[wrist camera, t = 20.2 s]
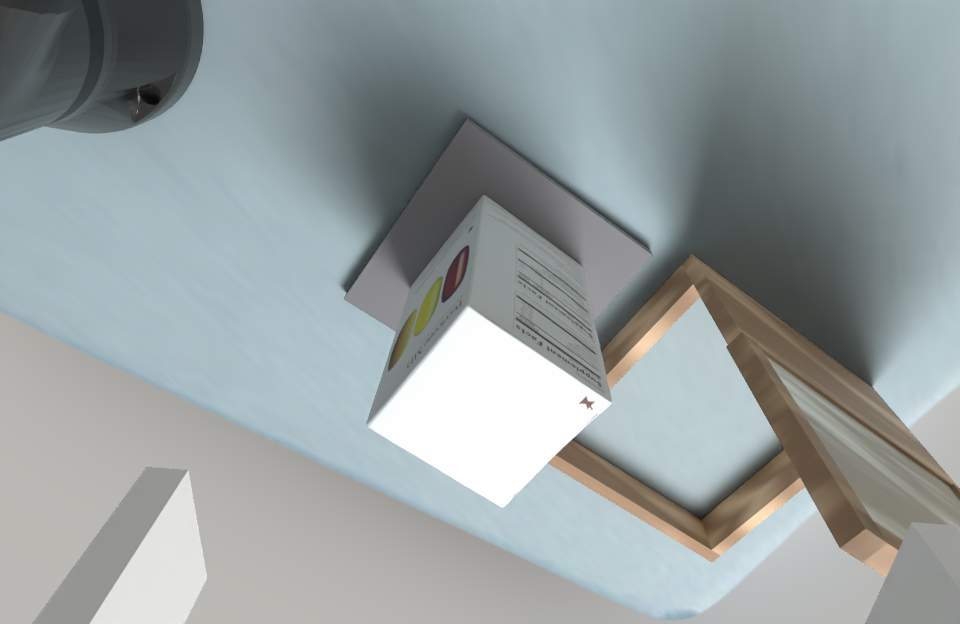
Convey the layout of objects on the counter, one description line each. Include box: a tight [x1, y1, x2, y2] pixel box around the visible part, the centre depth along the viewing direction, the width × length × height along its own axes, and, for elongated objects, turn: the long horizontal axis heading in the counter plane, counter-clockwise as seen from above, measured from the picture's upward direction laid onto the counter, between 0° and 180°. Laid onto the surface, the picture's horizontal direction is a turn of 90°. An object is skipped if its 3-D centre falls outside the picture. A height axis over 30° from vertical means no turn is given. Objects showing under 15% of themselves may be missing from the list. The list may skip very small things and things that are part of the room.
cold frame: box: [548, 254, 960, 578], centre depth 43 cm, size 19×19×27 cm
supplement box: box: [367, 195, 612, 507], centre depth 42 cm, size 10×9×17 cm
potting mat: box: [344, 118, 653, 331], centre depth 50 cm, size 16×16×1 cm
